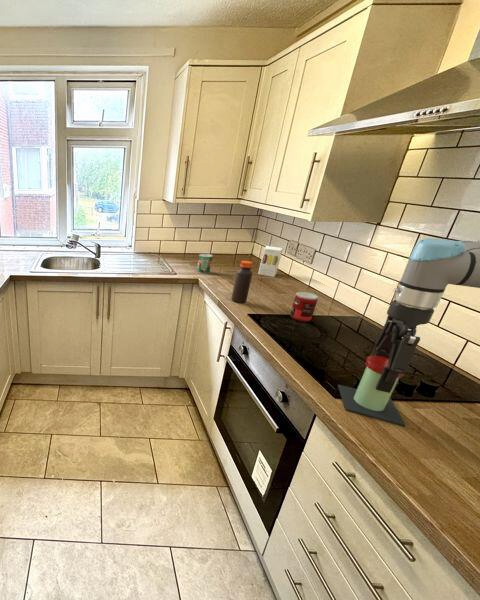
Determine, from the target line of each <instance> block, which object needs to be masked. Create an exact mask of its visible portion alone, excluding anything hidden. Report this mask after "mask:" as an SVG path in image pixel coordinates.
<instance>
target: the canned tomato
mask: <svg viewBox="0 0 480 600" xmlns="http://www.w3.org/2000/svg"><path fill="white" fill-rule="evenodd" d="M212 261H213V254H210V253H200V254H199V255H198V261H197V268H196V272H197V273H198V274H207V273H208V274H210V273H211V267H212ZM208 274H207V275H208Z"/></svg>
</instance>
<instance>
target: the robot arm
mask: <svg viewBox="0 0 480 600" xmlns="http://www.w3.org/2000/svg"><path fill="white" fill-rule="evenodd" d="M448 285H453V286H460V287H461V286H462V287H468V288H476V289H480V240H475V241H473V240H452V239H445V238H432V237H431V238H422V239H420V240H418V241H417V242H416V244H415V245H414V247H413V249H412V251H411V253H410V255H409V257H408V260H407V262H406V265H405V268H404V271H403V274H402V275H401V279H400V281H399V283H398V285H397V287H395V288H393V292H395V293H394V294H393V297H392V298H393V300H391V301H390V303H389V305H388V308H387V311H386V315H387V317H386V320H385V323H384V325H383V327H382V329H381V331H380V333H379V335H378V337H377V339H376V341H375V343H374V346H375V353H374V355H373V356H382V357H386V358H389V362H388V366H387V367H383V369H384V370H383V372H382V375H381V377H380V379H379V381H378V384H377V386H376V390H379V391H384V392H388V393H390V392H391V390H392V388H393V386H394V383H395V381H396V379H397V377H398V375H399V373H400V374H404V376H405V375H406V373H407V371H408V369H409V366H410V363H411V361H412V358H413V356H414V354H415V351H416V348H417V346H418V344H419V343H420V341H421V337H420V336H416V334H417V326H421V325H428V324H429V323H430V322H431V319H432V317H433V315H434V313H435V308H438V305H439V304H440V302H441V300H442V297H443V296H444V293H445V291H446V288H447V286H448Z"/></svg>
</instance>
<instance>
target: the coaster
mask: <svg viewBox="0 0 480 600" xmlns="http://www.w3.org/2000/svg"><path fill="white" fill-rule="evenodd" d="M337 388H338V391H339V394H340V397H341V400H342V404H343V407H344V410H345V411H346V412H351V413H353V414H357V415H362V416H364V417H368V418H371V419H376V420H379V421H383V422H387V423H389V424H394V425H397V426H401V427H405V426H406V424H405V422H404V419H403V418H402V416H401V413H400V412H399V410H398V409H397V407H396V404H395V402H394V401H393V400H392V397H390V399H389V401H388V403H387V405H386V407H385V409H384V410H383V411H374V410H370V409H367V408H365V407H363V406H361V405H359V404H358V403H357V402H356V401H355V400H354V395H355V393H356V390H357V388H354V387H350V386H346V385H342V384H337Z"/></svg>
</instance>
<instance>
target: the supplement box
mask: <svg viewBox="0 0 480 600" xmlns="http://www.w3.org/2000/svg"><path fill="white" fill-rule="evenodd" d="M283 249H284V248H283V247H277V246H272V245H266V246H265V247H264V249H263V254H262V257H261V260H260V264H259V268H258V273H257V275H260V276H265V277H271V278H275V277H276V275H277V272H278V268H279V264H280V261H281V256H282V254H283Z"/></svg>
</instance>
